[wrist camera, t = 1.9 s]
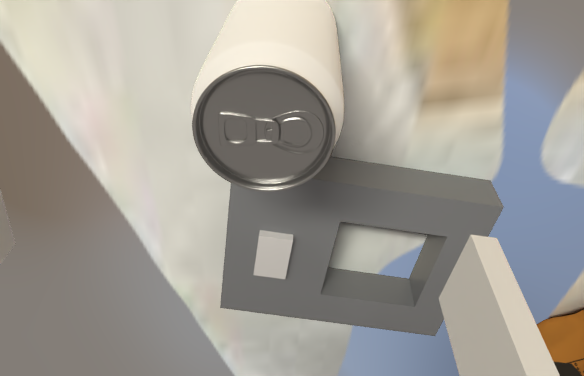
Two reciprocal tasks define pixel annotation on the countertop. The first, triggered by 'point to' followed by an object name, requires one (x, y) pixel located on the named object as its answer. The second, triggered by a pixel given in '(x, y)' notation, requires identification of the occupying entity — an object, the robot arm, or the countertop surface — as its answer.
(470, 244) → the robot arm
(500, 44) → the countertop surface
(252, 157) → the can
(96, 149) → the countertop surface
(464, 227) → the socket plate
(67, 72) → the countertop surface
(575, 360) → the coffee package
